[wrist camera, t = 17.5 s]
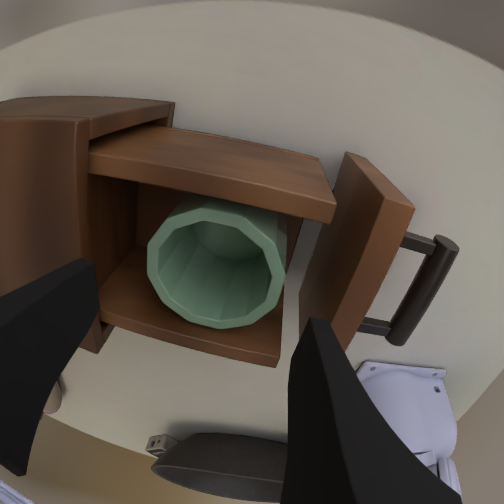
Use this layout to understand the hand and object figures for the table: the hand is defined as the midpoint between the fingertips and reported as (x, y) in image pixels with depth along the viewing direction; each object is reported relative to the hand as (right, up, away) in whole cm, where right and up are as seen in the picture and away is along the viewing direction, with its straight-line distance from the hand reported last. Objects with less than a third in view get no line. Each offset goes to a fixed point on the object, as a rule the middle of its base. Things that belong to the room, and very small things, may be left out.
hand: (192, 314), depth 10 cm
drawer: (+3, +4, +8) cm, 9 cm away
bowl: (+1, -23, +24) cm, 33 cm away
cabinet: (-10, +7, +9) cm, 15 cm away
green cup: (+1, +4, +7) cm, 8 cm away
